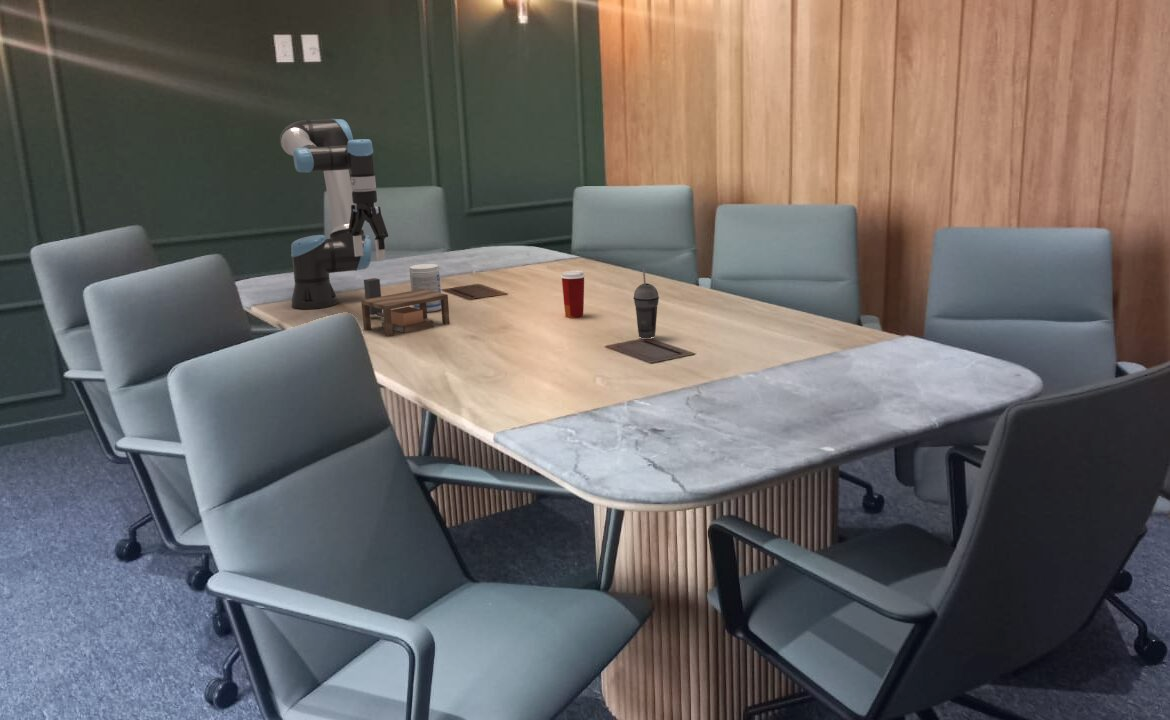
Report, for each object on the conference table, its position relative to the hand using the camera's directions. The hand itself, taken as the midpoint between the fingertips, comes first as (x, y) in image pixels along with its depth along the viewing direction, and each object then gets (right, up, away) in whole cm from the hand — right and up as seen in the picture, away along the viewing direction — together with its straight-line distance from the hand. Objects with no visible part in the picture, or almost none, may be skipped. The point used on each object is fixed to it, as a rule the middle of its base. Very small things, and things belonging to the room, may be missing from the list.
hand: (370, 258), depth 320 cm
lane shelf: (+13, -22, -9) cm, 27 cm away
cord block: (+8, -20, -3) cm, 22 cm away
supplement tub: (+16, -16, +15) cm, 27 cm away
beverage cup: (+86, -26, -32) cm, 95 cm away
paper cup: (+65, -19, -2) cm, 67 cm away
